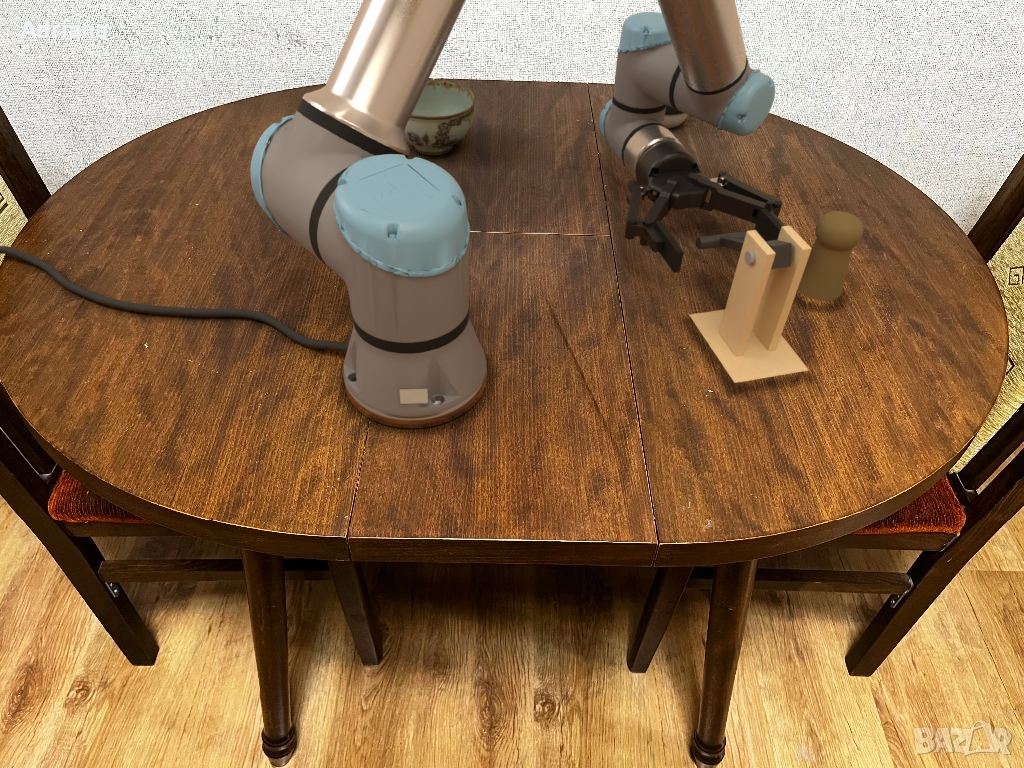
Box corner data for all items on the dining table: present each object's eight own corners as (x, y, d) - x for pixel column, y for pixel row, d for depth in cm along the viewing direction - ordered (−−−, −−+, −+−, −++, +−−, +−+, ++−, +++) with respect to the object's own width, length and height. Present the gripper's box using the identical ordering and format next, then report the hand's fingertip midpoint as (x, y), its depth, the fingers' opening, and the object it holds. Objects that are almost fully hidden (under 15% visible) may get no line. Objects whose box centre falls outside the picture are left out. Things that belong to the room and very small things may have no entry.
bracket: (686, 322, 91) (712, 213, 81) (755, 312, 93) (789, 204, 83) (732, 390, 83) (767, 279, 72) (806, 378, 85) (850, 267, 74)
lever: (695, 252, 89) (695, 232, 89) (741, 246, 91) (742, 226, 90) (754, 271, 77) (755, 248, 77) (807, 264, 79) (808, 241, 78)
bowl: (487, 134, 125) (487, 86, 120) (461, 172, 116) (460, 122, 110) (408, 122, 128) (405, 74, 122) (377, 159, 118) (372, 108, 113)
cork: (842, 312, 93) (874, 235, 86) (791, 304, 94) (819, 227, 86) (837, 283, 98) (867, 207, 90) (789, 276, 98) (815, 201, 91)
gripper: (739, 182, 107) (820, 268, 92) (569, 201, 102) (626, 296, 87) (752, 131, 102) (840, 213, 87) (574, 148, 97) (636, 239, 82)
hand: (733, 255), depth 87 cm, fingers open, 13 cm apart
